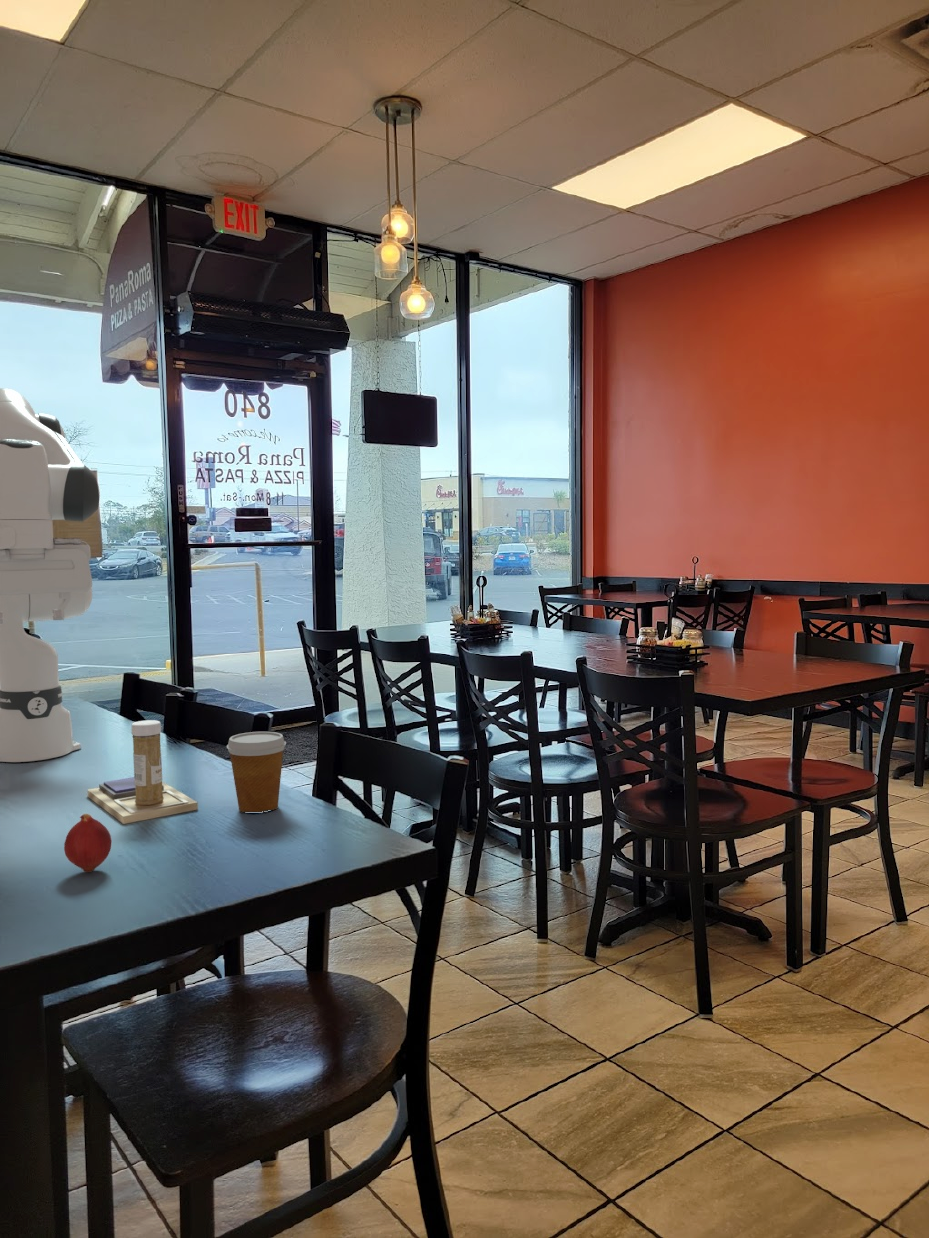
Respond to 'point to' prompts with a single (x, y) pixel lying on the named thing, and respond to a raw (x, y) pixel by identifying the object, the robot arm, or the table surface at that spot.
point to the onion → (87, 843)
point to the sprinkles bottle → (147, 762)
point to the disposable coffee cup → (257, 769)
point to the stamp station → (122, 804)
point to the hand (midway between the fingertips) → (28, 621)
